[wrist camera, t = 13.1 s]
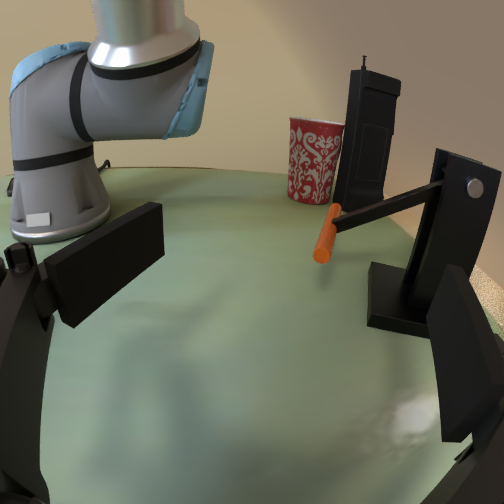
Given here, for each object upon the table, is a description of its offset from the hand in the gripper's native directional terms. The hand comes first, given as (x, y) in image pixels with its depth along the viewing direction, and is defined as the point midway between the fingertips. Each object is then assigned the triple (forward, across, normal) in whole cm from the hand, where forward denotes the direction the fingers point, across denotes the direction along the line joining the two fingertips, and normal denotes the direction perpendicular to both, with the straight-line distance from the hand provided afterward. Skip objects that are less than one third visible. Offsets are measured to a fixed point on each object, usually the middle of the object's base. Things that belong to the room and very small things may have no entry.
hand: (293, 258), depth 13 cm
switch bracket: (+12, +11, -9) cm, 19 cm away
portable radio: (+39, +4, -9) cm, 40 cm away
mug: (+41, -4, -9) cm, 42 cm away
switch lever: (+12, +7, -1) cm, 14 cm away
